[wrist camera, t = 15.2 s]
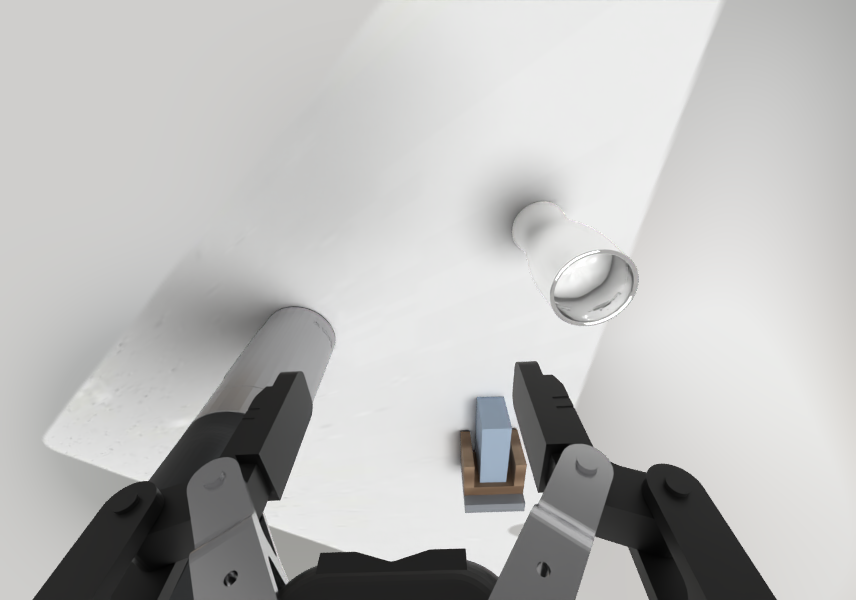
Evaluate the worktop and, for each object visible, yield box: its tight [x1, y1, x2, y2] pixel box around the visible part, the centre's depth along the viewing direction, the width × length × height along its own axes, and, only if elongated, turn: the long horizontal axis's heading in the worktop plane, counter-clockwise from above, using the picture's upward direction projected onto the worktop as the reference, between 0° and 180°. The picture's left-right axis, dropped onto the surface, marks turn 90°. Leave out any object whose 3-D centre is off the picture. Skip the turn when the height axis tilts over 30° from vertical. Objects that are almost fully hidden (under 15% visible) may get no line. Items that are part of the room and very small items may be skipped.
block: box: [461, 430, 527, 496], centre depth 54 cm, size 7×9×6 cm
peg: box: [475, 397, 512, 483], centre depth 53 cm, size 12×4×6 cm, turn 2°
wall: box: [461, 466, 525, 513], centre depth 56 cm, size 2×9×8 cm, turn 93°
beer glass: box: [512, 201, 639, 326], centre depth 33 cm, size 7×7×15 cm
